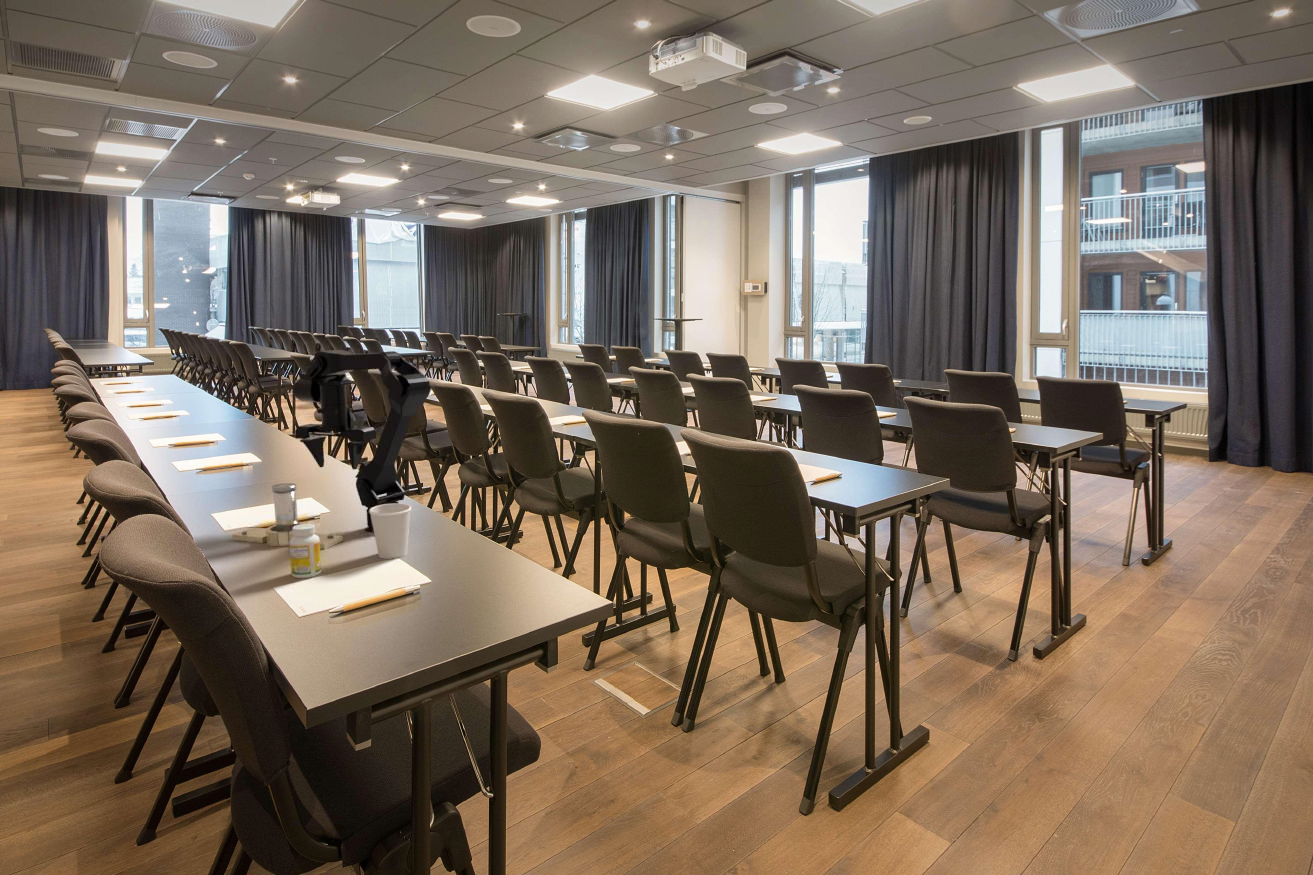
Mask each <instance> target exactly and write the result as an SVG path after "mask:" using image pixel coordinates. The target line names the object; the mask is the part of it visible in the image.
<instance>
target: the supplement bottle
mask: <svg viewBox="0 0 1313 875" xmlns="http://www.w3.org/2000/svg"><path fill="white" fill-rule="evenodd" d="M292 533H293V535H294V537H292V538H291V539H290V542H289V556H290V570H291V572H290V573H291V576H292V577H293V578H297V579H308V578H313V577H316V576H318V575H320V574H321V573H322V559H321V549H320V539H319V537H318V536H317V535H315V534H314V533H316V525H315V524H314V523H305V524H299V525H296V526H294V527H292Z"/></svg>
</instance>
